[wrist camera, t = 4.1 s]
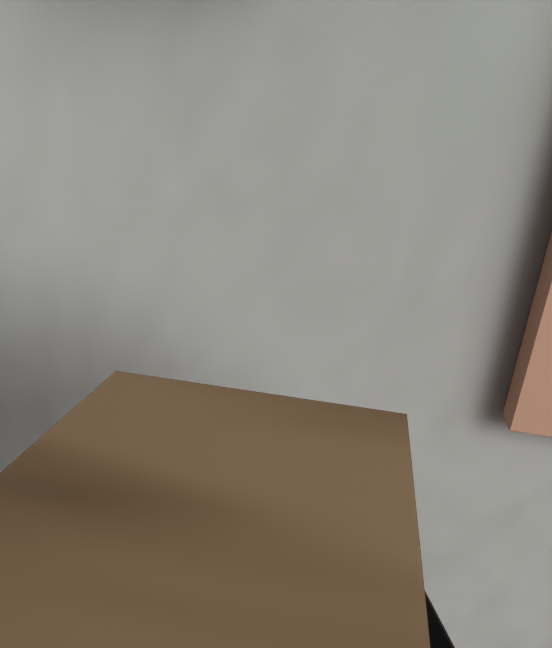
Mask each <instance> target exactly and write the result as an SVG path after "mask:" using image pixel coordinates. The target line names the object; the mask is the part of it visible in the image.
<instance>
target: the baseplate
mask: <svg viewBox="0 0 552 648" xmlns="http://www.w3.org/2000/svg"><path fill="white" fill-rule="evenodd" d="M503 416H504V418H505V421H506V423H507V425H508V427H509V429H510V431H517V432H524V433H531V434H537V435H544V436H551V437H552V232H551V236H550V239H549V243H548V247H547V251H546V254H545V258H544V262H543V265H542V269H541V273H540V277H539V280H538V284H537V288H536V291H535V295H534V299H533V303H532V306H531V310H530V314H529V317H528V321H527V325H526V329H525V332H524V336H523V340H522V343H521V347H520V351H519V355H518V358H517V362H516V366H515V369H514V373H513V377H512V381H511V384H510V388H509V392H508V395H507V399H506V403H505V407H504V410H503Z"/></svg>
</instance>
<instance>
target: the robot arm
mask: <svg viewBox="0 0 552 648" xmlns="http://www.w3.org/2000/svg"><path fill="white" fill-rule="evenodd" d="M425 600H426V610H427V620H428V629H429V639H430V648H455V647H454V645H453V643H452V641H451V640H450V638H449V636H448V634H447V632H446V630H445V628H444V626H443V624H442V622H441V620H440V619H439V617H438V615H437V613H436V611H435V609H434V607H433V605H432V603H431V601H430V599H429V598H428V596H427V594H426V592H425Z"/></svg>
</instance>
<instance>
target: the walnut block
mask: <svg viewBox="0 0 552 648" xmlns="http://www.w3.org/2000/svg"><path fill="white" fill-rule="evenodd" d="M0 648H430V639H429V629H428V620H427V610H426V600H425V590H424V580H423V570H422V560H421V550H420V540H419V530H418V520H417V511H416V501H415V491H414V481H413V471H412V461H411V451H410V441H409V431H408V421H407V414H403V413H396V412H389V411H382V410H376V409H369V408H362V407H355V406H349V405H342V404H335V403H328V402H322V401H315V400H308V399H301V398H295V397H288V396H281V395H274V394H268V393H261V392H254V391H247V390H241V389H234V388H227V387H220V386H214V385H207V384H200V383H193V382H187V381H180V380H173V379H166V378H160V377H153V376H146V375H139V374H133V373H126V372H119V371H116V372H114V373H113V374H112V375H111V376H110V377H109V378H108V379H107V380H105V381H104V382H103V383H102V384H101V385H100V386H99V387H97V388H96V389H95V390H94V391H93V392H92V393H91V394H90V395H88V396H87V397H86V398H85V399H84V400H83V401H82V402H80V403H79V404H78V405H77V406H76V407H75V408H74V409H72V410H71V411H70V412H69V413H68V414H67V415H66V416H65V417H63V418H62V419H61V420H60V421H59V422H58V423H57V424H55V425H54V426H53V427H52V428H51V429H50V430H49V431H47V432H46V433H45V434H44V435H43V436H42V437H41V438H40V439H38V440H37V441H36V442H35V443H34V444H33V445H32V446H30V447H29V448H28V449H27V450H26V451H25V452H24V453H22V454H21V455H20V456H19V457H18V458H17V459H16V460H15V461H13V462H12V463H11V464H10V465H9V466H8V467H7V468H5V469H4V470H3V471H2V472H1V473H0Z"/></svg>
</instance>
